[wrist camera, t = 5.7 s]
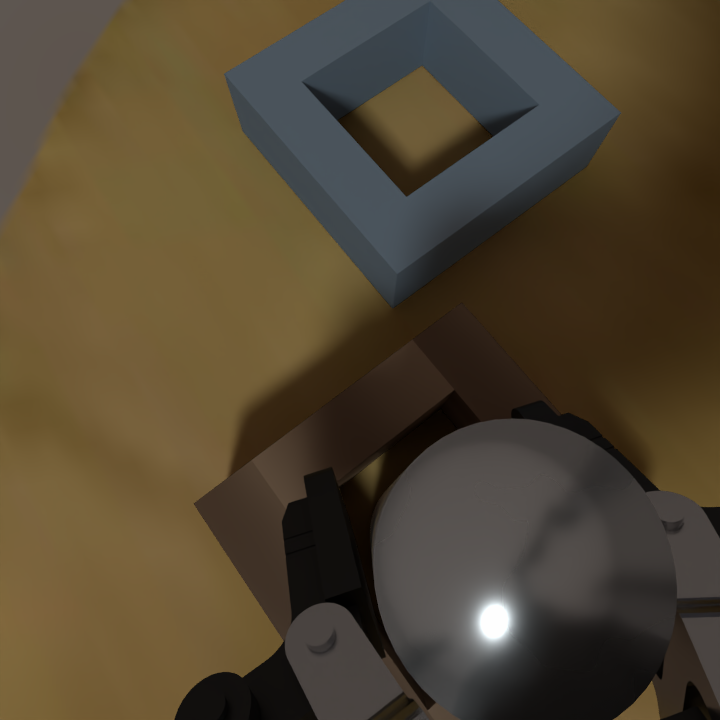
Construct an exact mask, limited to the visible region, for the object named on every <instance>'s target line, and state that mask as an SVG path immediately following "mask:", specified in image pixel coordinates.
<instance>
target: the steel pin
mask: <svg viewBox="0 0 720 720" xmlns="http://www.w3.org/2000/svg"><path fill="white" fill-rule="evenodd" d="M370 546H371V555H372V565H373V575H374V585H375V592H376V597H377V602H378V607H379V611H380V615H381V618H382V621H383V624H384V627H385V630H386V632H387V635H388V637H389V639H390V641H391V643H392V645H393V648H394V650H395V652H396V653H397V655H398V657H399V658H400V660H401V661H402V663H403V665H404V666H405V668H406V670H407V671H408V672H409V673H410V675H411V676H412V677H413V678H414V680H415V681H416V682H417V683H418V685H419V686H420V687H421V688H422V689H423V690H424V691H425V692H426V693H427V694H428V695H429V696H430V697H431V698H432V699H433V700H434V701H435V702H436V703H438V704H439V705H440V706H442V707H443V708H444V709H446V710H447V711H448V712H450V713H451V714H452V715H454V716H455V717H457V718H459V719H460V720H613V719H614V718H616V717H617V716H619V715H620V714H621V713H622V712H623V711H625V710H626V709H627V708H628V707H629V706H631V705H632V704H633V703H634V702H635V701H636V700H637V698H638V697H639V696H640V695H641V694H642V693H643V692H644V690H645V689H646V688H647V687H648V685H649V684H650V682H651V681H652V679H653V678H654V676H655V674H656V673H657V671H658V670H659V667H660V665H661V663H662V661H663V659H664V657H665V654H666V652H667V649H668V646H669V643H670V639H671V636H672V633H673V628H674V622H675V616H676V608H677V582H676V571H675V564H674V560H673V555H672V550H671V546H670V543H669V540H668V537H667V534H666V531H665V529H664V526H663V524H662V522H661V520H660V518H659V515H658V513H657V511H656V509H655V507H654V506H653V504H652V502H651V501H650V499H649V498H648V496H647V494H646V493H645V491H644V490H643V488H642V487H641V486H640V485H639V483H638V482H637V481H636V480H635V478H634V477H633V476H632V475H631V474H630V473H629V472H628V471H627V470H626V469H625V468H624V467H623V466H622V465H621V464H620V463H619V462H618V461H617V460H616V459H615V458H614V457H613V456H611V455H610V454H609V453H608V452H606V451H605V450H604V449H602V448H601V447H600V446H598V445H596V444H595V443H593V442H592V441H590V440H588V439H587V438H585V437H583V436H581V435H579V434H577V433H574V432H572V431H570V430H568V429H565V428H562V427H559V426H556V425H553V424H550V423H546V422H540V421H535V420H529V419H513V418H511V419H497V420H490V421H485V422H480V423H475V424H473V425H470V426H467V427H464V428H461V429H458V430H456V431H454V432H452V433H450V434H449V435H447V436H445V437H443V438H441V439H440V440H438V441H437V442H435V443H434V444H433V445H431V446H430V447H428V448H427V449H426V450H425V451H424V452H423V453H422V454H420V455H419V456H418V457H417V458H416V459H415V460H414V461H413V462H412V463H411V464H410V465H409V466H408V467H407V468H406V469H405V470H404V472H403V473H402V474H401V475H400V476H399V477H398V478H397V479H396V480H395V481H394V482H393V483H392V484H391V485H390V486H389V487H388V488H387V490H386V491H385V492H384V493H383V494H382V496H381V497H380V499H379V500H378V502H377V504H376V506H375V508H374V511H373V514H372V517H371V522H370Z"/></svg>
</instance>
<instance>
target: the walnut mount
mask: <svg viewBox="0 0 720 720" xmlns="http://www.w3.org/2000/svg"><path fill="white" fill-rule="evenodd" d="M539 400H542V401H544V402H545V403H546V404H547V405H548V406H549V407H550V408H551V409H552V410H553V411H554V412H555V413H556V414H557V415H558V416H560V415H561V414H560V413H559V411H558V410H557V409H556V408H555V407H554V406H553V405H552V404H551V402H550V401H549V400H548V399H547V398H546V397H545V396H544V395H543V393H542V392H541V391H540V390H539V389H538V388H537V387H536V386H535V384H534V383H533V382H532V381H531V380H530V379H529V378H528V376H527V375H526V374H525V373H524V372H523V371H522V370H521V369H520V367H519V366H518V365H517V364H516V363H515V362H514V361H513V360H512V358H511V357H510V356H509V355H508V354H507V353H506V352H505V351H504V349H503V348H502V347H501V346H500V345H499V344H498V343H497V342H496V340H495V339H494V338H493V337H492V336H491V335H490V334H489V332H488V331H487V330H486V329H485V328H484V327H483V326H482V325H481V323H480V322H479V321H478V320H477V319H476V318H475V317H474V316H473V314H472V313H471V312H470V311H469V310H468V309H467V308H466V307H465V305H464V304H463V303H460V304H459V305H458V306H456V307H455V308H454V309H452V310H451V311H450V312H448V313H447V314H446V315H444V316H443V317H442V318H440V319H439V320H438V321H436V322H435V323H434V324H432V325H431V326H430V327H428V328H427V329H426V330H424V331H423V332H422V333H420V334H419V335H418V336H416V337H415V338H414V339H412V340H411V341H410V342H408V343H407V344H406V345H404V346H403V347H402V348H400V349H399V350H398V351H396V352H395V353H394V354H392V355H391V356H390V357H388V358H387V359H386V360H384V361H383V362H382V363H380V364H379V365H378V366H376V367H375V368H374V369H372V370H371V371H370V372H368V373H367V374H366V375H364V376H363V377H362V378H360V379H359V380H358V381H356V382H355V383H354V384H352V385H351V386H350V387H348V388H347V389H346V390H344V391H343V392H342V393H340V394H339V395H338V396H336V397H335V398H334V399H332V400H331V401H330V402H328V403H327V404H326V405H324V406H323V407H322V408H320V409H319V410H318V411H316V412H315V413H314V414H312V415H311V416H310V417H308V418H307V419H306V420H304V421H303V422H302V423H300V424H299V425H298V426H296V427H295V428H294V429H292V430H291V431H290V432H288V433H287V434H286V435H284V436H283V437H282V438H280V439H279V440H278V441H276V442H275V443H274V444H272V445H271V446H270V447H268V448H267V449H266V450H264V451H263V452H262V453H260V454H259V455H258V456H256V457H255V458H254V459H252V460H251V461H250V462H248V463H247V464H246V465H244V466H243V467H242V468H240V469H239V470H238V471H236V472H235V473H234V474H232V475H231V476H230V477H228V478H227V479H226V480H224V481H223V482H222V483H220V484H219V485H218V486H216V487H215V488H214V489H212V490H211V491H210V492H208V493H207V494H206V495H204V496H203V497H202V498H200V499H199V500H198V501H196V502H195V503H194V505H195V507H196V508H197V510H198V511H199V513H200V514H201V516H202V517H203V519H204V520H205V522H206V523H207V525H208V526H209V528H210V529H211V531H212V532H213V534H214V536H215V537H216V539H217V540H218V542H219V543H220V545H221V546H222V548H223V549H224V551H225V552H226V554H227V555H228V557H229V558H230V560H231V561H232V563H233V564H234V566H235V567H236V569H237V571H238V572H239V574H240V575H241V577H242V578H243V580H244V581H245V583H246V584H247V586H248V587H249V589H250V590H251V592H252V593H253V595H254V596H255V598H256V599H257V601H258V602H259V604H260V606H261V607H262V609H263V610H264V612H265V613H266V615H267V616H268V618H269V619H270V621H271V622H272V624H273V625H274V627H275V628H276V630H277V631H278V633H279V634H280V636H281V638H282V639H283V641H284V640H285V639H286V635H287V632H288V629H289V627H290V625H291V619H292V618H291V604H290V595H289V585H288V576H287V567H286V555H285V548H284V539H283V529H282V519H283V516H284V514H285V511H286V508H287V505H288V503H290V502H293V501H296V500H299V499H302V498H306V497H307V495H306V489H305V483H304V475H307V474H310V473H313V472H316V471H319V470H322V469H326V468H329V467H332V468H333V471H334V474H335V477H336V480H337V483H338V486H339V488H340V487H341V486H343V485H344V484H345V483H346V482H348V481H349V480H350V479H352V478H353V477H354V476H355V475H357V474H358V473H359V472H360V471H362V470H363V469H364V468H366V467H367V466H368V465H369V464H371V463H372V462H373V461H374V460H376V459H377V458H378V457H380V456H381V455H382V454H383V453H385V452H386V451H387V450H388V449H390V448H391V447H392V446H394V445H395V444H396V443H397V442H399V441H400V440H401V439H402V438H404V437H405V436H406V435H408V434H409V433H410V432H411V431H413V430H414V429H415V428H417V427H418V426H419V425H420V424H422V423H423V422H424V421H425V420H427V419H428V418H429V417H431V416H432V415H433V414H434V413H436V412H437V411H438V410H439V409H442V410H443V411H444V413H445V414H446V415H447V416H448V417H449V419H450V420H451V421H452V422H453V424H454V425H455V426H456V427H457V428H458V429H461V428H464V427H467V426H470V425H473V424H475V423H480V422H485V421H490V420H497V419H511V411H512V409H514V408H517V407H520V406H523V405H526V404H529V403H533V402H536V401H539ZM376 621H377V624H378V628H379V632H380V636H381V640H382V643H383V647H384V651H385V655H386V657H385V658H383V659H382V661H383V662H384V664H385V665H386V666H387V668H388V669H389V671H390V672H391V674H392V675H393V677H394V678H395V680H396V681H397V683H398V684H399V686H400V687H401V689H402V690H403V692H404V693H405V694H406V695H407V697H408V698H410V699H411V698H412V699H414V700H415V701H416V702H417V704H418V705H419V706H420V707H421V709H422V710H423V711H424V713H425V714H426V716H427V717H428V718H429V720H460V719H459V718H457V717H455V716H454V715H452V714H451V713H450V712H448V711H447V710H446V709H444V708H443V707H442V706H440V705H439V704H438V703H436V702H435V701H434V700H433V699H432V698H431V697H430V696H429V695H428V694H427V693H426V692H425V691H424V690H423V689H422V688H421V687H420V686H419V685H418V683H417V682H416V681H415V680H414V678H413V677H412V676H411V675H410V673H409V672H408V671H407V670H406V668H405V666H404V665H403V663H402V661H401V660H400V658H399V657H398V655H397V653H396V652H395V650H394V648H393V645H392V643H391V641H390V639H389V637H388V635H387V633H386V631H385V630H384V628H383V627H382V626H381V624H380V623H379V621H378V620H377V619H376Z"/></svg>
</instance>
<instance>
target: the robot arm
mask: <svg viewBox="0 0 720 720" xmlns="http://www.w3.org/2000/svg"><path fill="white" fill-rule="evenodd" d="M511 418H513V419H529V420H535V421H540V422H546V423H550V424H553V425H556V426H559V427H562V428H565V429H568V430H570V431H572V432H574V433H577V434H579V435H581V436H583V437H585V438H587V439H588V440H590V441H592V442H593V443H595V444H596V445H598V446H600V447H601V448H602V449H604V450H605V451H606V452H608V453H609V454H610V455H611V456H613V457H614V458H615V459H616V460H617V461H618V462H619V463H620V464H621V465H622V466H623V467H624V468H625V469H626V470H627V471H628V472H629V473H630V474H631V475H632V476H633V477H634V478H635V480H636V481H637V482H638V483H639V485H640V486H641V487H642V488H643V490H644V491H645V493H646V494H647V496H648V498H649V499H650V501H651V502H652V504H653V506H654V507H655V509H656V511H657V513H658V515H659V518H660V520H661V522H662V524H663V526H664V529H665V531H666V534H667V537H668V540H669V543H670V546H671V550H672V555H673V560H674V564H675V571H676V582H677V608H676V616H675V622H674V628H673V633H672V636H671V639H670V643H669V646H668V649H667V652H666V654H665V657H664V659H663V661H662V663H661V665H660V667H659V670H658V671H657V673H656V674H655V676H654V678H653V679H652V682H653V685H654V688H655V692H656V696H657V701H658V708H659V715H660V720H720V507H700V506H699V505H698V504H696V503H695V502H694V501H692V500H690V499H689V498H687V497H684V496H682V495H680V494H676V493H673V492H668V491H660V490H659V489H658V488H657V487H656V486H655V485H653V484H652V483H651V482H650V481H649V480H648V479H647V478H646V477H645V476H644V475H643V474H642V473H641V472H640V471H639V470H638V469H637V468H636V467H635V466H634V465H633V464H632V463H631V462H630V461H629V460H627V459H626V458H625V457H624V456H623V455H622V454H621V453H620V452H619V451H618V450H617V449H614V446H613V445H612V444H611V443H610V442H609V441H608V440H607V439H606V438H603V437H602V435H601V434H600V433H599V432H598V431H597V430H596V429H595V428H594V427H593V426H592V425H591V424H590V423H589V422H588V421H585V420H583V419H581V418H579V417H577V416H574V415H572V414H570V413H566V414H563V415H560V416H558V415H557V414H556V413H555V412H554V411H553V410H552V409H551V408H550V407H549V406H548V405H547V404H546V403H545V402H544V401H542V400H539V401H536V402H533V403H529V404H526V405H523V406H520V407H517V408H514V409H512V411H511ZM304 483H305V489H306V495H307V497H306V498H302V499H299V500H296V501H293V502H290V503H288V505H287V508H286V511H285V514H284V516H283V519H282V529H283V539H284V548H285V555H286V567H287V576H288V585H289V595H290V604H291V618H292V619H291V625H290V627H289V629H288V632H287V635H286V639H285V640H284V642H283V644H282V645H281V646H280V648H279V649H278V650H277V651H276V652H275V653H274V654H273V655H272V656H271V657H270V658H269V659H268V660H266V661H265V662H264V663H262V664H261V665H259V666H258V667H257V668H255V669H254V670H252V671H251V672H250V673H248V674H247V675H245V676H244V677H243V678H242V677H240V676H239V675H237V674H235V673H231V672H221V673H216V674H213V675H211V676H209V677H207V678H205V679H203V680H202V681H200V682H199V683H198V684H197V685H195V686H194V687H193V688H192V689H191V690H190V692H189V693H188V694H187V695H186V697H185V698H184V699H183V701H182V703H181V705H180V706H179V709H178V711H177V714H176V716H175V720H429V718H428V717H427V716H426V714H425V713H424V711H423V710H422V709H421V707H420V706H419V705H418V704H417V702H416V701H415V700H414V699H412V698H411V699H410V698H408V697H407V695H406V694H405V693H404V692H403V690H402V689H401V687H400V686H399V684H398V683H397V681H396V680H395V678H394V677H393V675H392V674H391V672H390V671H389V669H388V668H387V666H386V665H385V664H384V662H383V661H382V659H383V658H385V657H386V655H385V651H384V647H383V643H382V640H381V636H380V632H379V628H378V624H377V621H376V617H375V613H374V609H373V605H372V602H371V598H370V594H369V590H368V586H367V583H366V579H365V575H364V571H363V567H362V564H361V560H360V556H359V552H358V548H357V545H356V541H355V537H354V533H353V530H352V526H351V523H350V520H349V516H348V513H347V510H346V507H345V504H344V501H343V498H342V495H341V492H340V489H339V486H338V483H337V480H336V477H335V474H334V471H333V468H332V467H329V468H326V469H322V470H319V471H316V472H313V473H310V474H307V475H304Z"/></svg>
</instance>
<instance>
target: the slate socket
mask: <svg viewBox="0 0 720 720" xmlns="http://www.w3.org/2000/svg"><path fill="white" fill-rule="evenodd" d="M422 65H423V66H424V67H425V68H426V69H427V70H428V71H429V72H430V73H431V74H432V75H433V76H434V77H435V78H436V79H437V80H438V81H439V82H440V83H441V84H442V85H443V86H444V87H445V88H446V89H447V90H448V91H449V92H450V93H451V94H452V95H453V96H454V97H455V98H456V99H457V100H458V101H459V102H460V103H461V104H462V105H463V106H464V107H465V108H466V109H467V110H468V111H469V112H470V113H471V114H472V115H473V116H474V117H475V118H476V119H477V120H478V121H479V122H480V123H481V124H482V125H483V126H484V127H485V128H486V129H487V130H488V131H489V132H490V133H491V134H492V135H493V136H494V137H492V138H491V139H489V140H488V141H486V142H485V143H484V144H482V145H481V146H479V147H478V148H476V149H475V150H473V151H472V152H471V153H469V154H468V155H466V156H465V157H463V158H462V159H461V160H459V161H458V162H456V163H455V164H453V165H452V166H450V167H449V168H448V169H446V170H445V171H443V172H442V173H440V174H439V175H437V176H436V177H435V178H433V179H432V180H430V181H429V182H427V183H426V184H424V185H423V186H422V187H420V188H419V189H417V190H416V191H414V192H413V193H412V194H410V195H409V196H407V197H406V196H405V195H404V194H403V193H402V192H401V190H400V189H399V188H398V187H397V186H396V185H395V184H394V183H393V182H392V181H391V179H390V178H389V177H388V176H387V175H386V174H385V173H384V172H383V171H382V170H381V168H380V167H379V166H378V165H377V164H376V163H375V162H374V161H373V160H372V159H371V157H370V156H369V155H368V154H367V153H366V152H365V151H364V150H363V149H362V148H361V146H360V145H359V144H358V143H357V142H356V141H355V140H354V139H353V138H352V137H351V135H350V134H349V133H348V132H347V131H346V130H345V129H344V128H343V127H342V126H341V124H340V123H339V122H338V121H337V120H338V119H340V118H341V117H343V116H345V115H346V114H348V113H349V112H351V111H352V110H354V109H355V108H357V107H358V106H360V105H361V104H363V103H365V102H366V101H368V100H369V99H371V98H372V97H374V96H375V95H377V94H378V93H380V92H382V91H383V90H385V89H386V88H388V87H389V86H391V85H392V84H394V83H395V82H397V81H399V80H400V79H402V78H403V77H405V76H406V75H408V74H409V73H411V72H412V71H414V70H416V69H417V68H419V67H420V66H422ZM224 75H225V78H226V81H227V84H228V87H229V90H230V93H231V96H232V99H233V103H234V106H235V109H236V112H237V115H238V118H239V121H240V124H241V127H242V130H243V132H244V133H245V134H246V135H247V137H248V138H249V139H250V140H251V141H252V143H253V144H254V145H255V146H256V147H257V148H258V150H259V151H260V152H261V153H262V154H263V156H264V157H265V158H266V159H267V160H268V161H269V163H270V164H271V165H272V166H273V167H274V169H275V170H276V171H277V172H278V173H279V175H280V176H281V177H282V178H283V179H284V180H285V182H286V183H287V184H288V185H289V186H290V188H291V189H292V190H293V191H294V192H295V193H296V195H297V196H298V197H299V198H300V199H301V201H302V202H303V203H304V204H305V205H306V207H307V208H308V209H309V210H310V211H311V212H312V214H313V215H314V216H315V217H316V218H317V220H318V221H319V222H320V223H321V224H322V225H323V227H324V228H325V229H326V230H327V231H328V233H329V234H330V235H331V236H332V237H333V239H334V240H335V241H336V242H337V243H338V244H339V246H340V247H341V248H342V249H343V250H344V252H345V253H346V254H347V255H348V256H349V257H350V259H351V260H352V261H353V262H354V263H355V265H356V266H357V267H358V268H359V269H360V271H361V272H362V273H363V274H364V275H365V276H366V278H367V279H368V280H369V281H370V282H371V284H372V285H373V286H374V287H375V288H376V289H377V291H378V292H379V293H380V294H381V295H382V297H383V298H384V299H385V300H386V301H387V303H388V304H389V305H390V306H391V307H392V308H394V307H396V306H397V305H398V304H400V303H401V302H402V301H404V300H405V299H406V298H408V297H409V296H411V295H412V294H413V293H415V292H416V291H417V290H419V289H420V288H421V287H423V286H424V285H426V284H427V283H428V282H430V281H431V280H432V279H434V278H435V277H436V276H438V275H439V274H441V273H442V272H443V271H445V270H446V269H447V268H449V267H450V266H451V265H453V264H454V263H456V262H457V261H458V260H460V259H461V258H462V257H464V256H465V255H466V254H468V253H469V252H471V251H472V250H473V249H475V248H476V247H477V246H479V245H480V244H481V243H483V242H484V241H486V240H487V239H488V238H490V237H491V236H492V235H494V234H495V233H496V232H498V231H499V230H501V229H502V228H503V227H505V226H506V225H507V224H509V223H510V222H512V221H513V220H514V219H516V218H517V217H518V216H520V215H521V214H522V213H524V212H525V211H527V210H528V209H529V208H531V207H532V206H533V205H535V204H536V203H537V202H539V201H540V200H542V199H543V198H544V197H546V196H547V195H548V194H550V193H551V192H552V191H554V190H555V189H557V188H558V187H559V186H561V185H562V184H563V183H565V182H566V181H567V180H569V179H570V178H572V177H573V176H574V175H576V174H577V173H578V172H580V171H581V170H582V169H584V168H585V167H587V165H588V164H589V162H590V160H591V159H592V157H593V156H594V154H595V153H596V151H597V149H598V148H599V146H600V145H601V143H602V142H603V140H604V139H605V137H606V135H607V134H608V132H609V131H610V129H611V128H612V126H613V124H614V123H615V121H616V120H617V118H618V117H619V115H620V114H621V112H620V111H618V110H617V109H616V108H615V107H614V106H613V105H612V104H611V103H610V102H609V101H608V100H606V99H605V98H604V97H603V96H602V95H601V94H600V93H599V92H598V91H597V90H595V89H594V88H593V87H592V86H591V85H590V84H589V83H588V82H587V81H586V80H584V79H583V78H582V77H581V76H580V75H579V74H578V73H577V72H576V71H575V70H574V69H572V68H571V67H570V66H569V65H568V64H567V63H566V62H565V61H564V60H563V59H561V58H560V57H559V56H558V55H557V54H556V53H555V52H554V51H553V50H552V49H550V48H549V47H548V46H547V45H546V44H545V43H544V42H543V41H542V40H541V39H540V38H538V37H537V36H536V35H535V34H534V33H533V32H532V31H531V30H530V29H529V28H527V27H526V26H525V25H524V24H523V23H522V22H521V21H520V20H519V19H518V18H517V17H515V16H514V15H513V14H512V13H511V12H510V11H509V10H508V9H507V8H506V7H504V6H503V5H502V4H501V3H500V2H499V1H498V0H345V1H344V2H342V3H340V4H339V5H337V6H335V7H334V8H332V9H330V10H329V11H327V12H326V13H324V14H322V15H321V16H319V17H317V18H316V19H314V20H312V21H311V22H309V23H307V24H306V25H304V26H302V27H301V28H299V29H297V30H296V31H294V32H292V33H291V34H289V35H288V36H286V37H284V38H283V39H281V40H279V41H278V42H276V43H274V44H273V45H271V46H269V47H268V48H266V49H264V50H263V51H261V52H259V53H258V54H256V55H254V56H253V57H251V58H249V59H248V60H246V61H245V62H243V63H241V64H240V65H238V66H236V67H235V68H233V69H231V70H230V71H228V72H226V73H225V74H224Z"/></svg>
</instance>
